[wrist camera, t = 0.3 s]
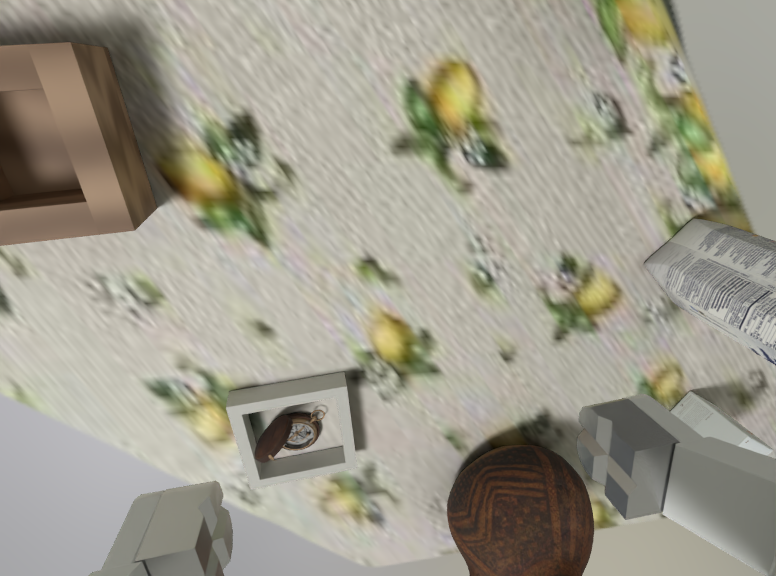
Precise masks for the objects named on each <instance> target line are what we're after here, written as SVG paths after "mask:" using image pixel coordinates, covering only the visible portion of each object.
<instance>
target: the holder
mask: <svg viewBox="0 0 776 576" xmlns="http://www.w3.org/2000/svg"><path fill="white" fill-rule="evenodd" d="M156 209H157V206H156V203H155V199H154V196H153V193H152V190H151V186H150V183H149V180H148V177H147V174H146V170H145V167H144V164H143V161H142V157H141V154H140V151H139V148H138V144H137V141H136V138H135V135H134V132H133V128H132V125H131V122H130V119H129V115H128V112H127V109H126V106H125V102H124V99H123V96H122V93H121V90H120V86H119V83H118V80H117V77H116V73H115V70H114V67H113V64H112V60H111V57H110V54H109V51H108V48H106V47H99V46H92V45H86V44H79V43H72V42H64V43H45V44H25V45H5V46H0V246H2V245H11V244H20V243H29V242H38V241H47V240H55V239H64V238H73V237H82V236H91V235H100V234H108V233H117V232H126V231H135V230H136V229H137V228H138V227H139V226H140V225H141V224H142V223H143V222H144V221H145V220H146V219H147V218H148V217H149V216H150V215H151V214H152V213H153V212H154V211H155V210H156Z"/></svg>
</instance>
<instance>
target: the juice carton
mask: <svg viewBox="0 0 776 576" xmlns="http://www.w3.org/2000/svg"><path fill="white" fill-rule="evenodd" d="M644 266H645V267H646V269H647V270H648V271H649V273H650V274H651V275H652V276H653V278H654V279H655V280H656V281H657V282H658V283H659V285H660V286H661V288H662V289H663V291H664V292H665V293H666V294H667V296H668V297H669V298H670V299H671V300H672V301H673V302H674V303H675V304H676V305H677V306H679V307H680V308H682V309H683V310H685V311H686V312H688V313H690V314H691V315H693V316H695V317H696V318H698V319H700V320H701V321H703V322H705V323H706V324H708V325H710V326H711V327H713V328H715V329H716V330H718V331H720V332H721V333H723V334H725V335H726V336H728V337H730V338H731V339H733V340H735V341H736V342H738V343H740V344H741V345H743V346H745V347H746V348H748V349H750V350H751V351H753V352H755V353H756V354H758V355H760V356H761V357H763V358H765V359H766V360H768V361H770V362H771V363H773V364H775V365H776V241H773V240H770V239H767V238H764V237H762V236H759V235H756V234H753V233H750V232H747V231H744V230H741V229H738V228H735V227H732V226H729V225H725V224H721V223H717V222H712V221H707V220H702V219H692V220H691V221H690V222H688V223H687V224H686V225H685V226H684V227H683V228H682V229H681V230H680V231H679V232H678V233H677V234H676V235H675V236H674V237H673V238H671V239H670V240H669V241H668V242H667V243H666V244H665V245H664V246H663V247H661V248H660V249H659V250H658V251H657V252H655V253H654V254H653V255H652V256H651V257H650V258H649V259H648V260H647V261H646V262H645V263H644Z"/></svg>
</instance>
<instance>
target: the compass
mask: <svg viewBox="0 0 776 576" xmlns="http://www.w3.org/2000/svg"><path fill="white" fill-rule="evenodd" d="M315 411H321V412H323V411H322V410H315ZM315 411H313V412H312V413H311V416H310V415H307V414H304V413H294V414H289V415H283V416H280V417H278V418H277V419H276V420H274V421H273V422H272V423H271V424H270V425H269V426H268V428H267V429H266V430H265V431H264V433H263V434H262V436H261V437H260V439H259V441H258V443H257V446H256V448H255V453H254V456H255V459H256V460H257V461H259V462H260V463H265V462H268V461H269V460H273V461H276V460H274V458H273V457H274V456H275V455H276V454H277V453H278V452H279V451H280V450H281V448H284V449H287V450H302V449H305V448H307V447H309V446H311V445H312V444H314V443H315V441H316V440H317V439H318V437H319V432H320V428H319V424H318V422H317V421H319V420H322V419H323V418H324V416H325V413H324V412H323V414H324V416H323V417H322V418H321V419H319V420H316V419H317V417H316V416H313V417H312V414H313V413H314V412H315Z"/></svg>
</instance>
